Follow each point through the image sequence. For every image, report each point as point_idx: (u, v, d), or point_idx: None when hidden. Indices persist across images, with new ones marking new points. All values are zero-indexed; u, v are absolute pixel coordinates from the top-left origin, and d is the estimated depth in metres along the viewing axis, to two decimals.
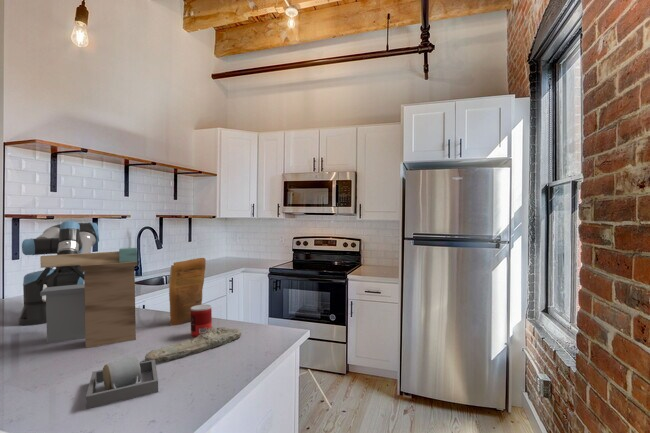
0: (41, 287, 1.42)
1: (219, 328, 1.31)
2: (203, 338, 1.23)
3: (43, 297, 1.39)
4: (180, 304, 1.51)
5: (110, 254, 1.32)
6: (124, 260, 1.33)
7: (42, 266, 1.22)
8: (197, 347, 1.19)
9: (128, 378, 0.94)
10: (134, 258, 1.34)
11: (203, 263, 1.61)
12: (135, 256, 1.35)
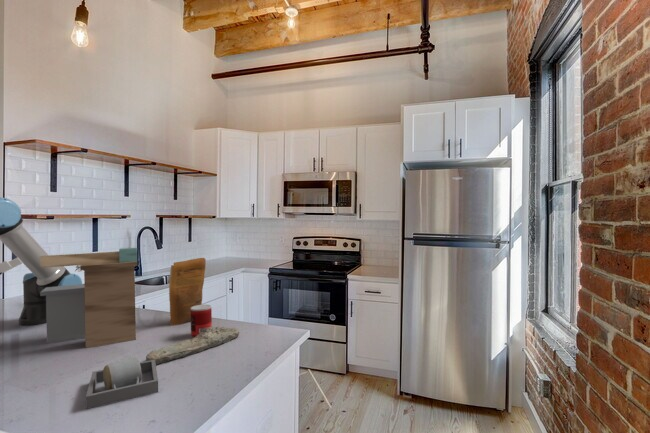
0: (5, 269, 1.29)
1: (218, 327, 1.32)
2: (203, 337, 1.24)
3: (19, 264, 1.30)
4: (180, 304, 1.51)
5: (110, 254, 1.32)
6: (124, 260, 1.33)
7: (42, 266, 1.22)
8: (198, 346, 1.19)
9: (129, 379, 0.94)
10: (134, 258, 1.34)
11: (203, 263, 1.61)
12: (135, 256, 1.35)
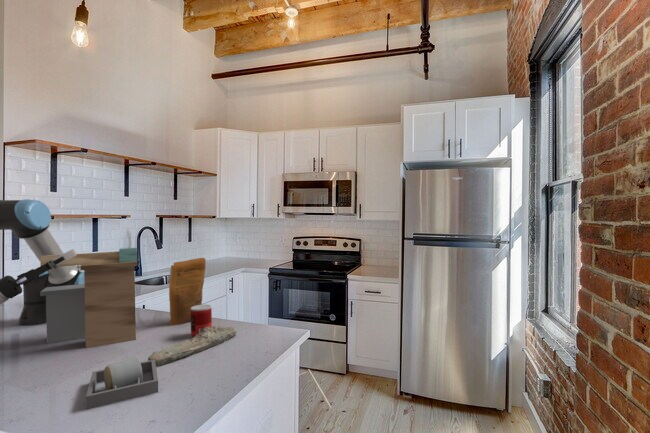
0: None
1: (215, 327, 1.32)
2: (203, 337, 1.24)
3: None
4: (180, 304, 1.51)
5: (110, 254, 1.32)
6: (124, 260, 1.33)
7: None
8: (199, 346, 1.19)
9: (129, 380, 0.93)
10: (134, 258, 1.34)
11: (203, 263, 1.61)
12: (135, 256, 1.35)
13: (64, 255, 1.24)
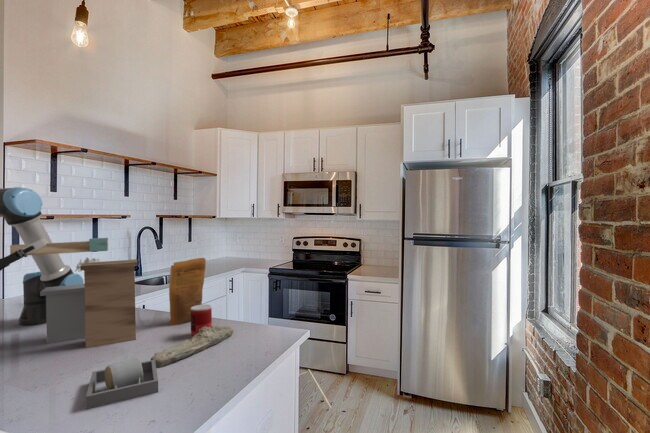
0: None
1: (212, 326, 1.33)
2: (202, 337, 1.24)
3: None
4: (180, 304, 1.51)
5: (80, 244, 1.36)
6: (94, 249, 1.37)
7: None
8: (200, 345, 1.20)
9: (130, 380, 0.93)
10: (104, 247, 1.38)
11: (203, 263, 1.61)
12: (105, 246, 1.39)
13: (34, 244, 1.28)
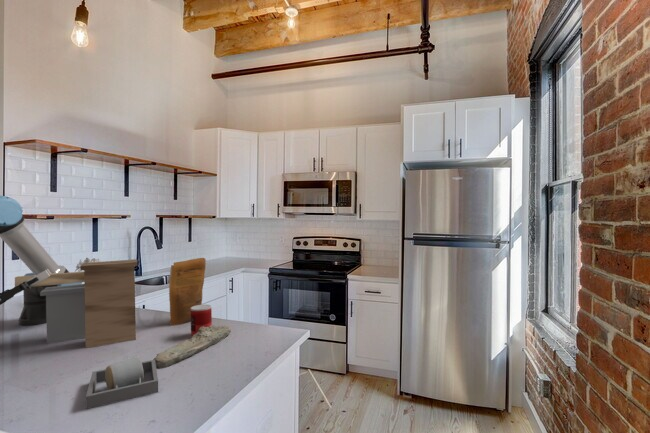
0: None
1: (210, 326, 1.33)
2: (202, 336, 1.25)
3: None
4: (180, 304, 1.51)
5: (83, 274, 1.38)
6: None
7: None
8: (201, 345, 1.20)
9: (131, 379, 0.93)
10: None
11: (203, 263, 1.61)
12: None
13: (38, 276, 1.31)
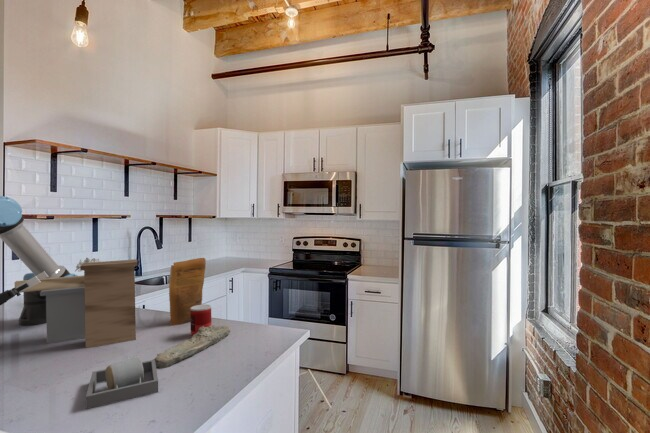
0: None
1: (210, 326, 1.33)
2: (202, 336, 1.25)
3: (46, 277, 1.39)
4: (180, 304, 1.51)
5: (83, 278, 1.38)
6: None
7: None
8: (202, 345, 1.20)
9: (131, 379, 0.93)
10: None
11: (203, 263, 1.61)
12: None
13: (28, 282, 1.26)
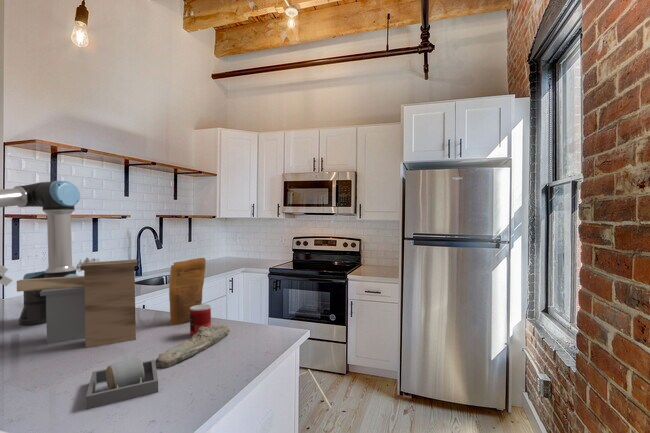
0: None
1: (210, 326, 1.33)
2: (203, 336, 1.25)
3: (0, 273, 1.37)
4: (180, 304, 1.51)
5: (81, 279, 1.37)
6: None
7: (18, 290, 1.31)
8: (203, 344, 1.21)
9: (131, 379, 0.93)
10: None
11: (203, 263, 1.61)
12: None
13: (3, 277, 1.27)
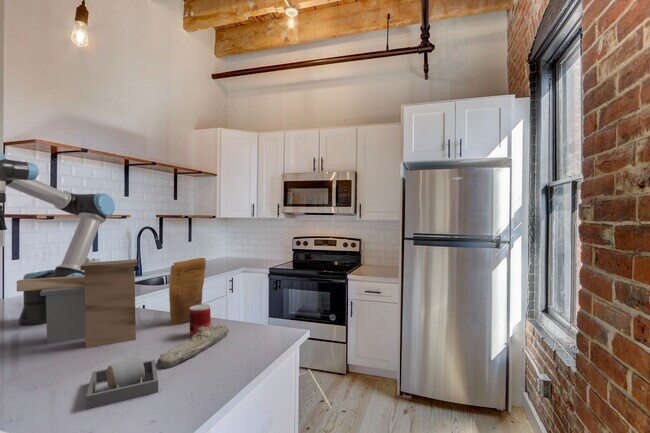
0: None
1: (209, 326, 1.33)
2: (203, 336, 1.25)
3: None
4: (180, 304, 1.51)
5: (81, 279, 1.37)
6: None
7: (18, 290, 1.31)
8: (203, 344, 1.21)
9: (132, 379, 0.93)
10: None
11: (203, 263, 1.61)
12: None
13: None
